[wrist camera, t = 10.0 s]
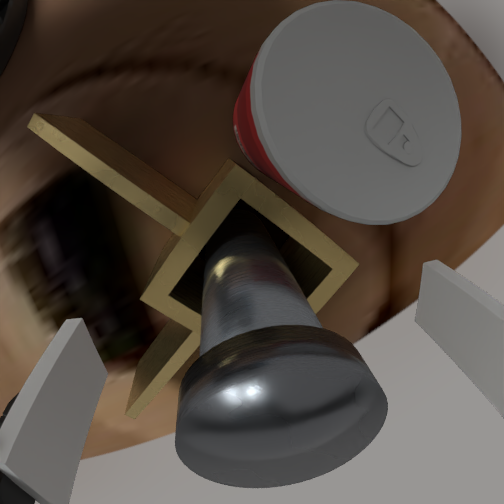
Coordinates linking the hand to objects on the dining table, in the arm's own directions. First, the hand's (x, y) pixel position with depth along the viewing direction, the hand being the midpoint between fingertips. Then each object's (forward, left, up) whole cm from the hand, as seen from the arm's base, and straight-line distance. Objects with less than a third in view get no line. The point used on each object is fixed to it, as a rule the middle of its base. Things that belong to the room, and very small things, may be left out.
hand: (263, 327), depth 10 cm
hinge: (-5, -5, -11) cm, 13 cm away
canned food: (-2, +8, -11) cm, 14 cm away
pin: (0, 0, -11) cm, 11 cm away
